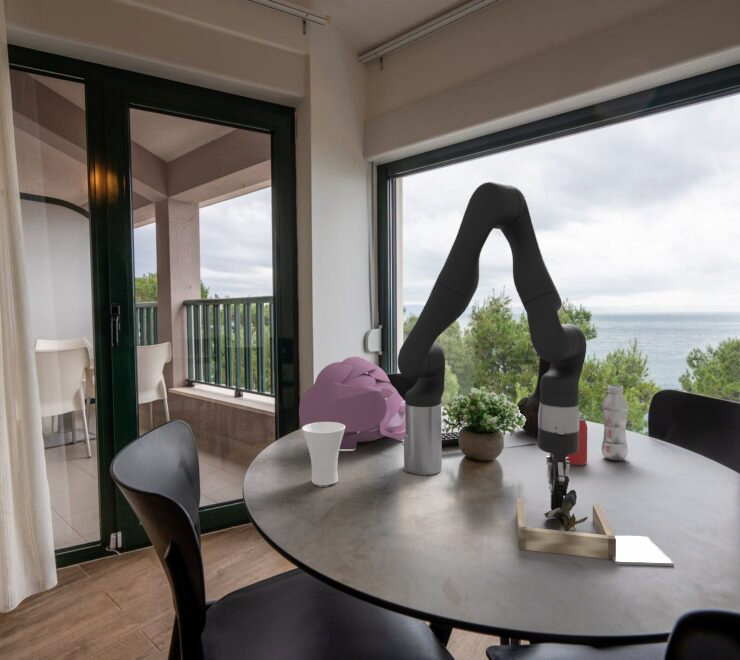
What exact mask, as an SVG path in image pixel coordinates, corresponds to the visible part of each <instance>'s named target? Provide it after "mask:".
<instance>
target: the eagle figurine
mask: <svg viewBox="0 0 740 660" xmlns="http://www.w3.org/2000/svg"><path fill="white" fill-rule="evenodd" d="M577 497H578V496H577V493H576V490H575V489H570V491H568V492H567V494H566V495H565V496H563V503H562V507H561V509H560V508H557V509H555V510H551V509H550V511H547V512H545V513H543V516H545V519H548V520H550V519H553V518H554V519H557V520H558V523H559V526H558V527H561V528H563V531H570V532H571V529H572V528H573V529H574V530H576V529H577V528H576V525H579V524H581V523H584V522H586V520H587V519H588V516H585V517H583V518H580V519H578V520H576V516H575V513H572V515H570V514H571V510H573V508H574V507H575V505H576V504H577Z"/></svg>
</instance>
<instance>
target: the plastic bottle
mask: <svg viewBox="0 0 740 660" xmlns="http://www.w3.org/2000/svg"><path fill="white" fill-rule="evenodd" d="M607 393H608V395H606V397H605V398H604V400H602V403H601V406H602V407H601V408H602V415H603V424H604V425H603V429H604V430H603V439H602V443H601V453H602V456H603V457H604V458H605V459H607V460H610V461H617V462H618V461H625V460H626V459H627V457H628V453H629V449H628V443H627V432H626V431H627V430H626V429H627V418H628V413H629V404H628V401H627V400H626V398H625V397H624V396H623V394H624V387H623V385H619V384H608V385H607Z"/></svg>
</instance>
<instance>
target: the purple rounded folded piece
mask: <svg viewBox="0 0 740 660" xmlns="http://www.w3.org/2000/svg"><path fill="white" fill-rule="evenodd" d="M298 416H299V421H300V424H301V425H302V427H303V426H305V425H307V424H311V423H317V422H336V423H341V424H343V425H345V430H344V434H343V437H342V441H341V445H340V448H339V449H355V448H356V449H357V443H364V442H365V443H366V442H373V441H376V440H378V439H381V438H383V437H388V438H392V439H394V440H397V441H401V440H403V439H404V434H405V433H406V426H405V399H404V398H403V397H402V396H401V395H400V393H399V392H398V390H397V389H396V387H395V386H394V385H392V383H391V381H390V379H389V377H388V375H387V373H386V372H385V371H384V370H383V369H382V368H381V367H379V366H378V365H377V364H374V363H372V362H371V361H368V360H366V359H364V358H363V357H361V356H350V357H347V358H345V359H344V360H342V361H335V362H331V363H330V364H328V365H326V366H325V367H323V368H322V369H321V370H320V372H319V373H318V374H317V376H316V379H315V380H314V384H313V385H312V386H310V387H309V388H308V389H307V390H306V391H305V393H303V396H302V398H301V399H300V404H299V408H298ZM401 442H402V441H401Z"/></svg>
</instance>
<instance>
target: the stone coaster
mask: <svg viewBox="0 0 740 660" xmlns="http://www.w3.org/2000/svg"><path fill="white" fill-rule="evenodd" d="M614 536H615V538H616V557H612V559H611V560H612V562H614V564H615V565H620V566H621V565H624V566H626V565H628V566H629V565H630V566H656V567H657V566H659V567H665V566H666V567H674V564H675V563H674V562H673V560H671V559H670V558H669V556H668V555H666V554H665V553H664V552H663V551H662V550H661V549H660V548H659V547H658V545H656V544H655V543H654V542H653V541H652V540H651V539H650V538H649V537H648V536H643V535H642V536H641V535H614Z"/></svg>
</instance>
